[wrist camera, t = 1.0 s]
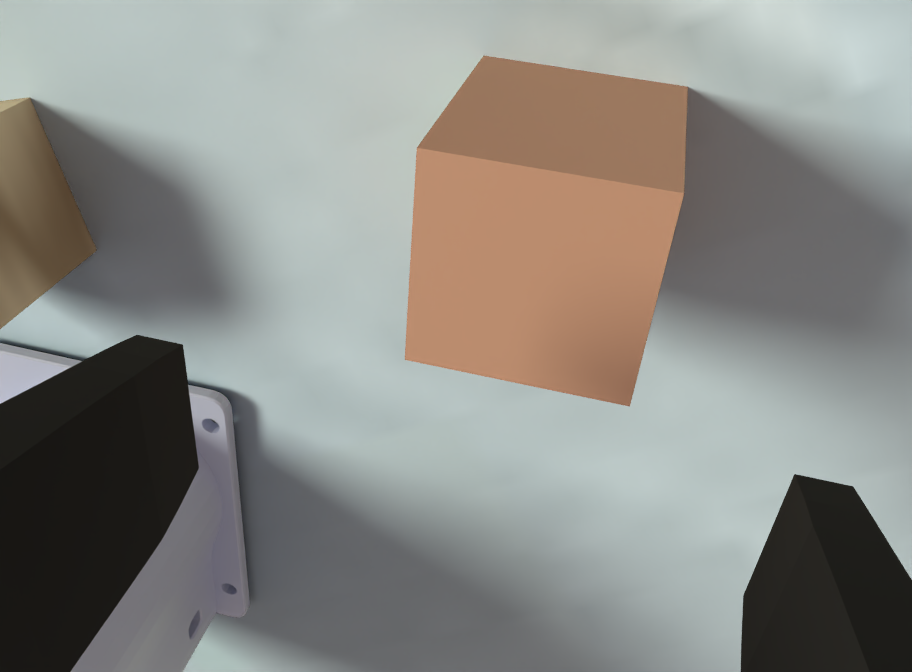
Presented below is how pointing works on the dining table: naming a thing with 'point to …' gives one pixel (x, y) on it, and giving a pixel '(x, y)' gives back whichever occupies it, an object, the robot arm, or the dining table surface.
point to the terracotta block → (545, 226)
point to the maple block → (34, 213)
